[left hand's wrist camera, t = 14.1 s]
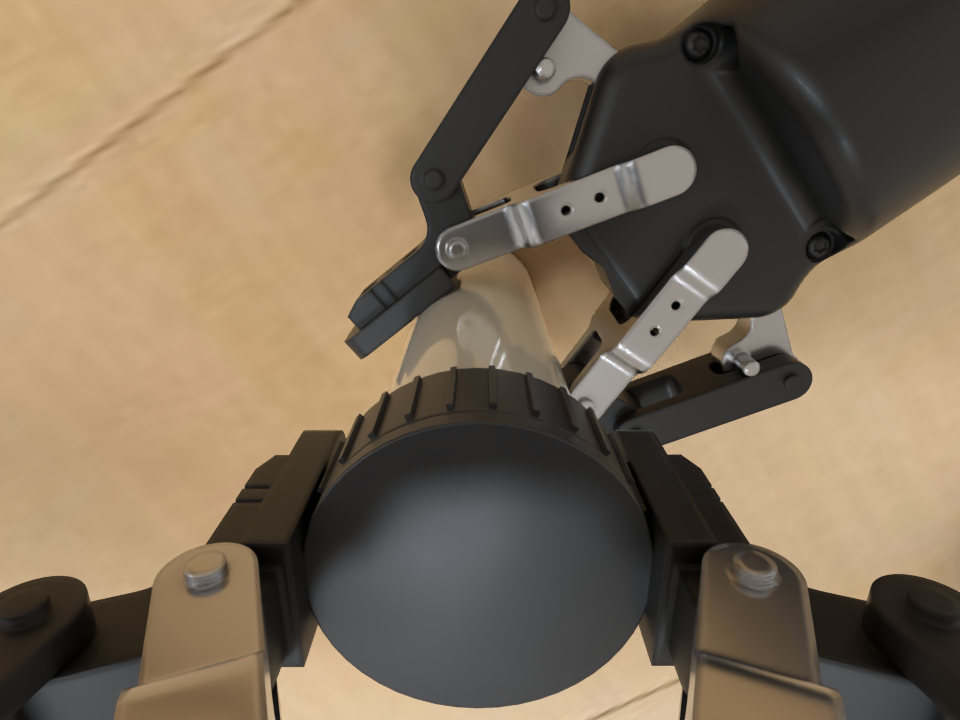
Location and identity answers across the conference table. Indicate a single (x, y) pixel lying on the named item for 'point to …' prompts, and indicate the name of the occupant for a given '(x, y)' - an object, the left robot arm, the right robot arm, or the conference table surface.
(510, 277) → the jar
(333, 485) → the lid
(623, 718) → the conference table surface
